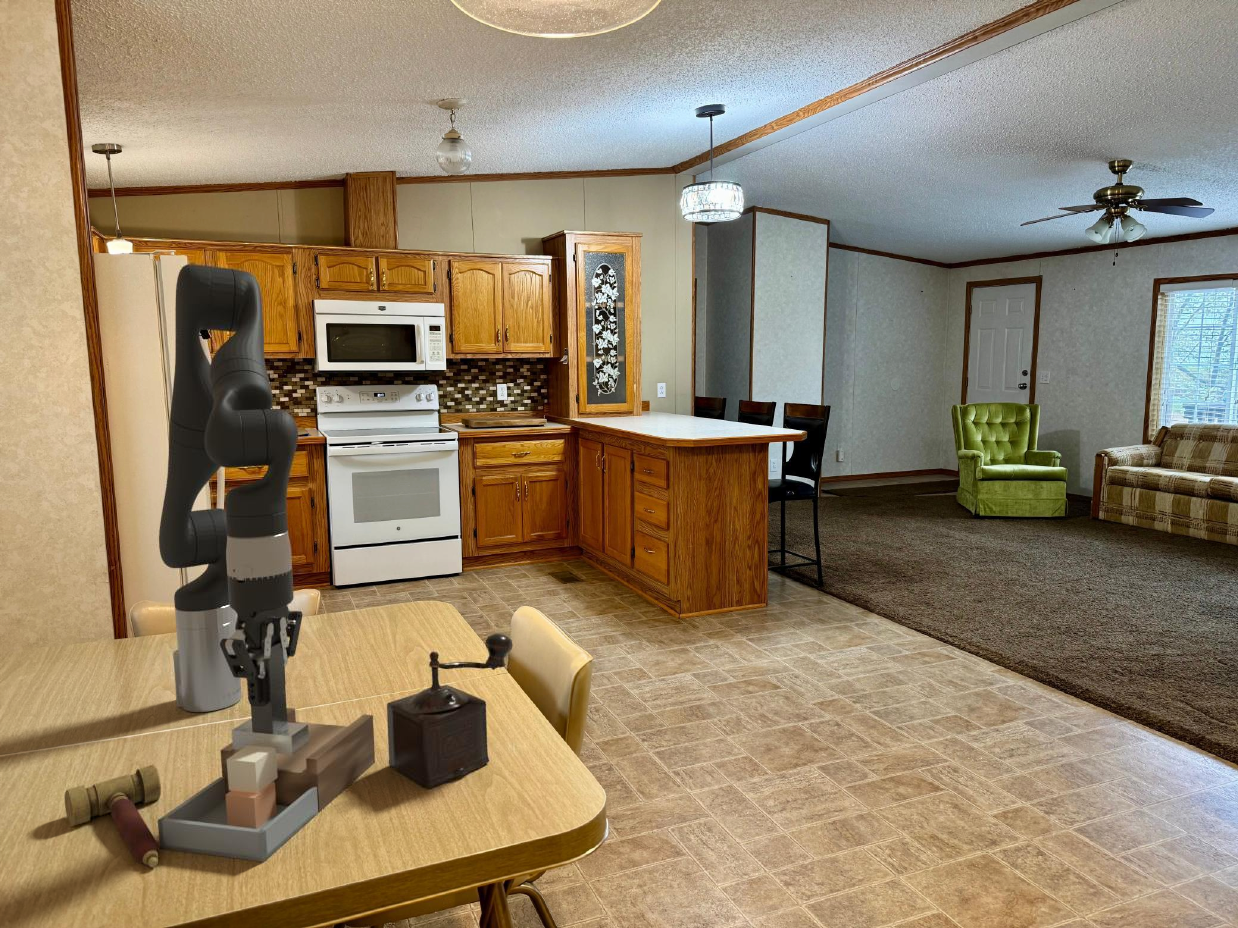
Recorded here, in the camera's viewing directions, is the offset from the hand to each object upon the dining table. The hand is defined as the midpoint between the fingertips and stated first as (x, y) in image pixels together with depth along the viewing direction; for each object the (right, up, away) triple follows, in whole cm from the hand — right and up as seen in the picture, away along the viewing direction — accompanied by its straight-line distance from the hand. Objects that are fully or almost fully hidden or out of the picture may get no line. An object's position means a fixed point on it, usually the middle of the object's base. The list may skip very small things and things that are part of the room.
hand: (267, 699), depth 107 cm
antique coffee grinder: (+21, -13, +13) cm, 28 cm away
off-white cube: (-1, -10, -3) cm, 10 cm away
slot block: (+2, -13, +7) cm, 15 cm away
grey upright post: (0, -6, +1) cm, 6 cm away
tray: (-1, -15, -5) cm, 16 cm away
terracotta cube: (0, -12, -2) cm, 12 cm away
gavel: (-15, -16, -5) cm, 22 cm away
